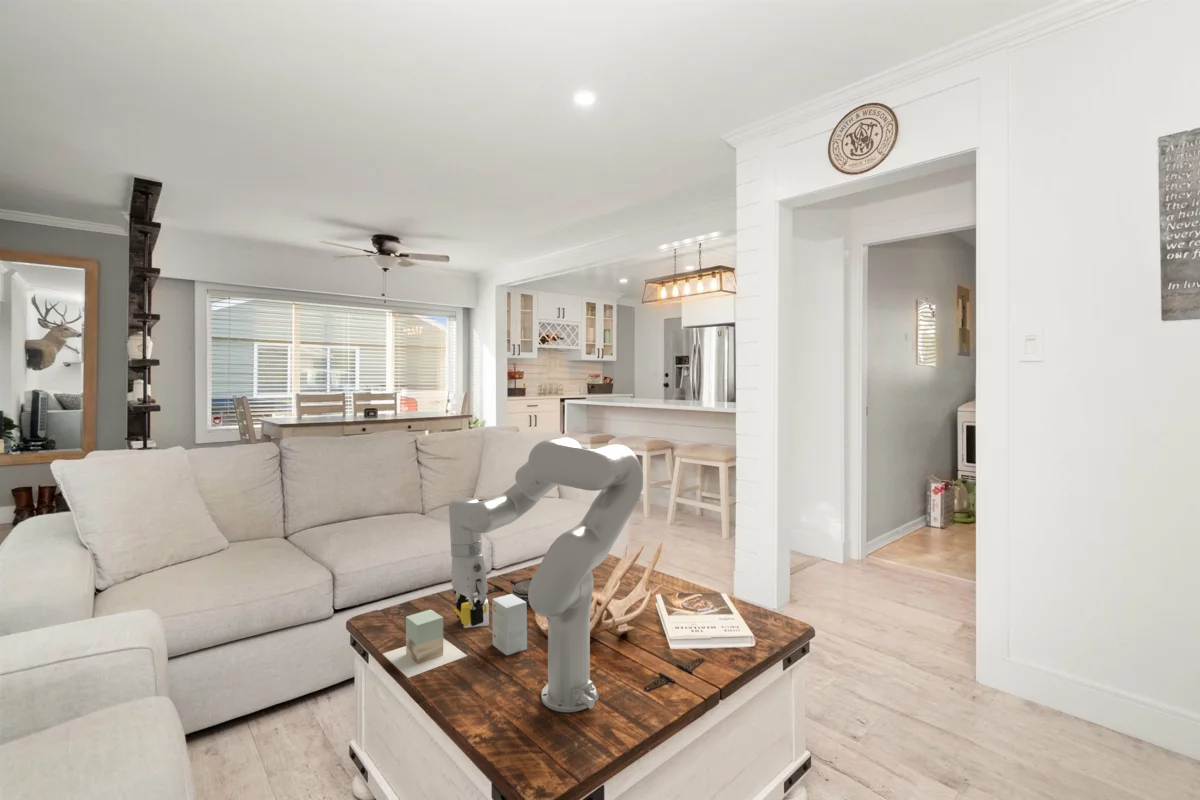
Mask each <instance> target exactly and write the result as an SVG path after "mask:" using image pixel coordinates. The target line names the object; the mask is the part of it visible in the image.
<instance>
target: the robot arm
mask: <svg viewBox="0 0 1200 800" xmlns="http://www.w3.org/2000/svg"><path fill="white" fill-rule="evenodd" d="M527 459H528V460H527V462H526V463H524V464H522V466H519V467H520V468H518V469H517V471H516V472H515V476H514V477H515V478H514V479H515V483H514V484H513V485H512V486H511V487H510V488H508V489H507V490H505V492H503V493H501V494H499V495H495V496H493V497H489V498H487V499H484V500H480V501H479V499H477V498H475V497H471V496H470V497H459V498H455V499H452V500H451V501H450V502H449V505H448V514H449V515H448V516H449V520H448V521H449V537H450V555H451V586H452V590H453V594H454V595H455V596H454V600H455V603H456V606H455V608H457V609H458V610H459V611H460V612H461V603H465V602H469V599H470V603H471V607H472V609H470V618H471V625H472V626H475V625H478V624H481V623H483V607H484V603H485V600H486V599H487V600H488V595H487V593H488V579H487V572H486V570H487V569H486V565H485V558H484V555H483V543H482V538H483V537H482V534H486V533H490V532H492V531H494V530H497V529H499V528H503V527H505V526H507V525H511V524H512V523H513V522H515V521H516V520H518V519H519V518H520V517H522V516H523V515H525V513H528V511H530V510H531V509H532V508H534V506H536V505H537V504H538V503H539V502H540V500H541V499H542V498H543V497H544V496H545V495H546V494H548V493H549V492H550V491H552V490H554V488H555V487H557V486H558V485H559V486H565V487H569V488H574V489H579V490H583V491H584V490H585V491H600V492H599V493H598V494H597V496H596V497H595V499H594V500H593V501H592V502H591V504H590V507H589V509H588V511H587V512H586V514H585V515H584V517H583V518H582V519H581V521H580V522H579V523H578V524H577V525H576V526H574V527H572V528H571V529H568V530H566V531H565V532H563V533H561V534H560V535H559V536H557V537H556V539H554V541H553V542H552V544H551V545H550V546H549V548H548V550H547V552H546V554H544V556H543V559H542V560H541V562H540V563H539V565H538V567H537V569H536V571H535V572H534V575H532V578H531V580H530V582H529V585H528V589H527V597H528V598H527V599H528V603H529V606H530V607H531V609H532V610H533V611H534V613H536V614H537V616H540V617H543V618H548V619H547V680H548V681H547V683H546V685H544V687H543V688H542V690H541V696H540V698H541V702H542V703H543V705H544V706H545V707H547V708H548V709H550V710H552V711H555V712H560V713H577V712H580V711H583V710H585V709H590V710H591V709H593V708H594V706H595V705H596V701H598V700H599V698H600V694H598V692H597V688H596V687H595V685H594V684H593V680H591V673H590V672H591V668H590V667H591V662H590V661H591V644H590V642H591V641H590V640H591V606H592V600H593V592H594V575H593V571H592V570H593V569H595V568H596V567H598V566H600V565H601V564H602V563H603V562H604V561H605V560H606V559H607V557H608V556H609V553H610V552H611V550H612V549H613V547H614V544H615V542H616V541H617V540H618V538H619V536H620V534H621V533H622V531H623V529H624V527H625V525H626V524H627V522H628V520H629V518H630V517H631V516H632V513H633V512H634V510H635V508H636V506H637V505H638V503H639V499H640V497H641V495H642V491H643V486H644V485H643V484H644V474H643V468H642V466H641V463H640V460H639V459H638V456H637V455H636V454H635V453H634V451H633V450H631V449H630V448H629V447H628V446H626V445H622V444H615V443H614V444H613V443H612V444H608V445H602V446H599V447H595V448H592V449H591V448H583V447H582V445H581V444H580V443H579V441H577V440H576V439H574V438H571V437H566V436H562V437H556V438H551V439H547V440H546V439H545V440H543V441H540V442H538V443H537V444H535V446H533V448H532V449H531V450H530V452H529V455H528V458H527ZM476 592H477V594H478V595H473V593H476ZM467 597H469V599H467ZM477 597H478V600H477V601H476V602H474V598H477ZM456 618H458V619H461V618H460V617H459V616H458V615H457V614H456Z"/></svg>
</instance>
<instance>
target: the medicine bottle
mask: <svg viewBox="0 0 1200 800" xmlns="http://www.w3.org/2000/svg"><path fill="white" fill-rule="evenodd" d="M473 595H478V594H477V592H476V593H473ZM467 599H469V597H467ZM477 600H478V597H477V598H474V601H477ZM469 601H470V599H469ZM485 603H486V609H487V612H486V613H484V614H483V623H481V624H478V625H475V626H472V625H471V623H469V625H467V626H465V624H462V625H463V626H462V627H463V628H464V629H468V628H476V627H488V626H489V621H490V620H489V616H490V615H489V601H488V598H487V599H486V600H485ZM483 609H484V607H483Z"/></svg>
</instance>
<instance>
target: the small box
mask: <svg viewBox="0 0 1200 800" xmlns="http://www.w3.org/2000/svg"><path fill="white" fill-rule="evenodd" d="M491 606H492V609H491V610H492V619H491V620H492V623H491V624H492V638H491V641H492V643H491V644H492V646H494V647H495V648H496V649H497V650H499V651H500V652H501V653H502V654H504V655H505V656H510V655H513V654H515V653H517V652H520V651H521V652H524V651H525V650H528V628H527V627H528V620H527V619H528V617H527V616H528V615H527V614H528V612H527V610H528V609H527V608H528V607H527V606H528V603H527V601H525V600H524V599H522V598H520V597H518V596H516V595H515V594H513V593H509V594H506V595H502V596H498V597H494V598H492V605H491Z"/></svg>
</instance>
